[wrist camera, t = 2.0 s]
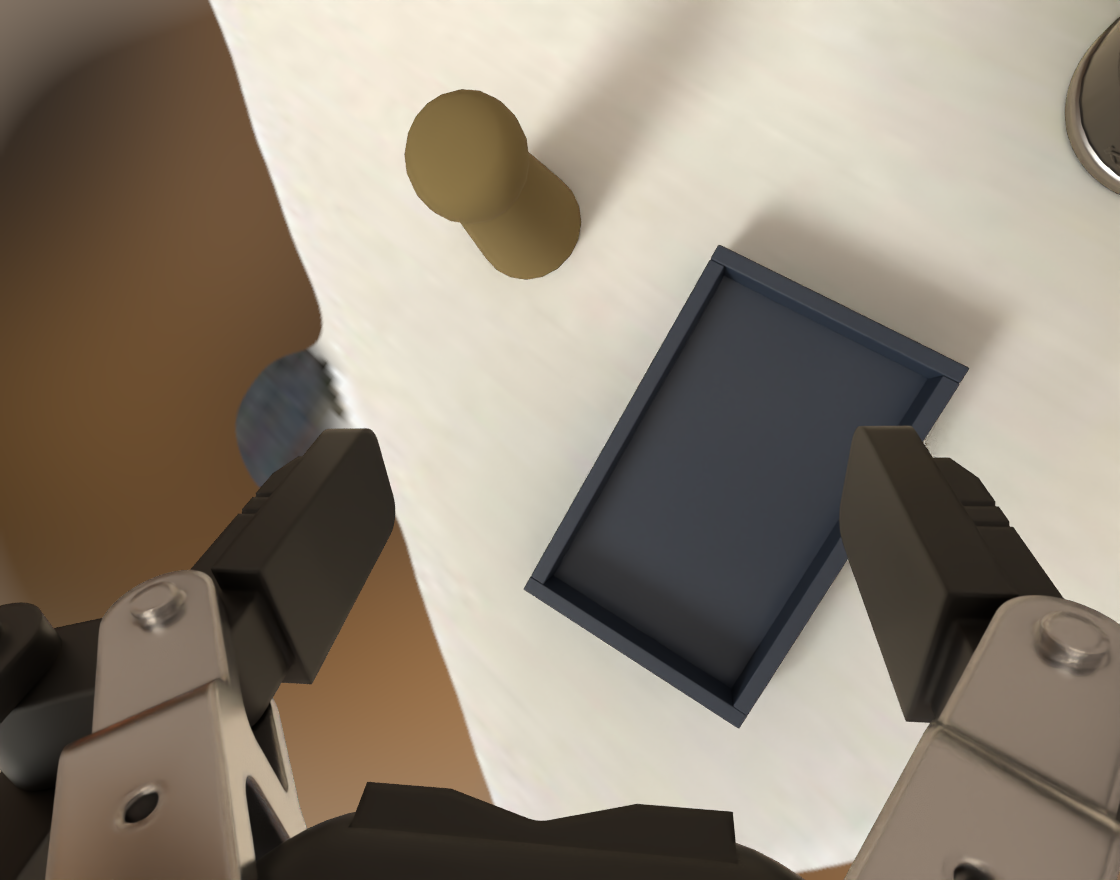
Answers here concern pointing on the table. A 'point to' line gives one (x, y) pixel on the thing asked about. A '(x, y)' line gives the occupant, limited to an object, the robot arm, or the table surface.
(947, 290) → the table surface
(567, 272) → the table surface
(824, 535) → the pan
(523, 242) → the cork
